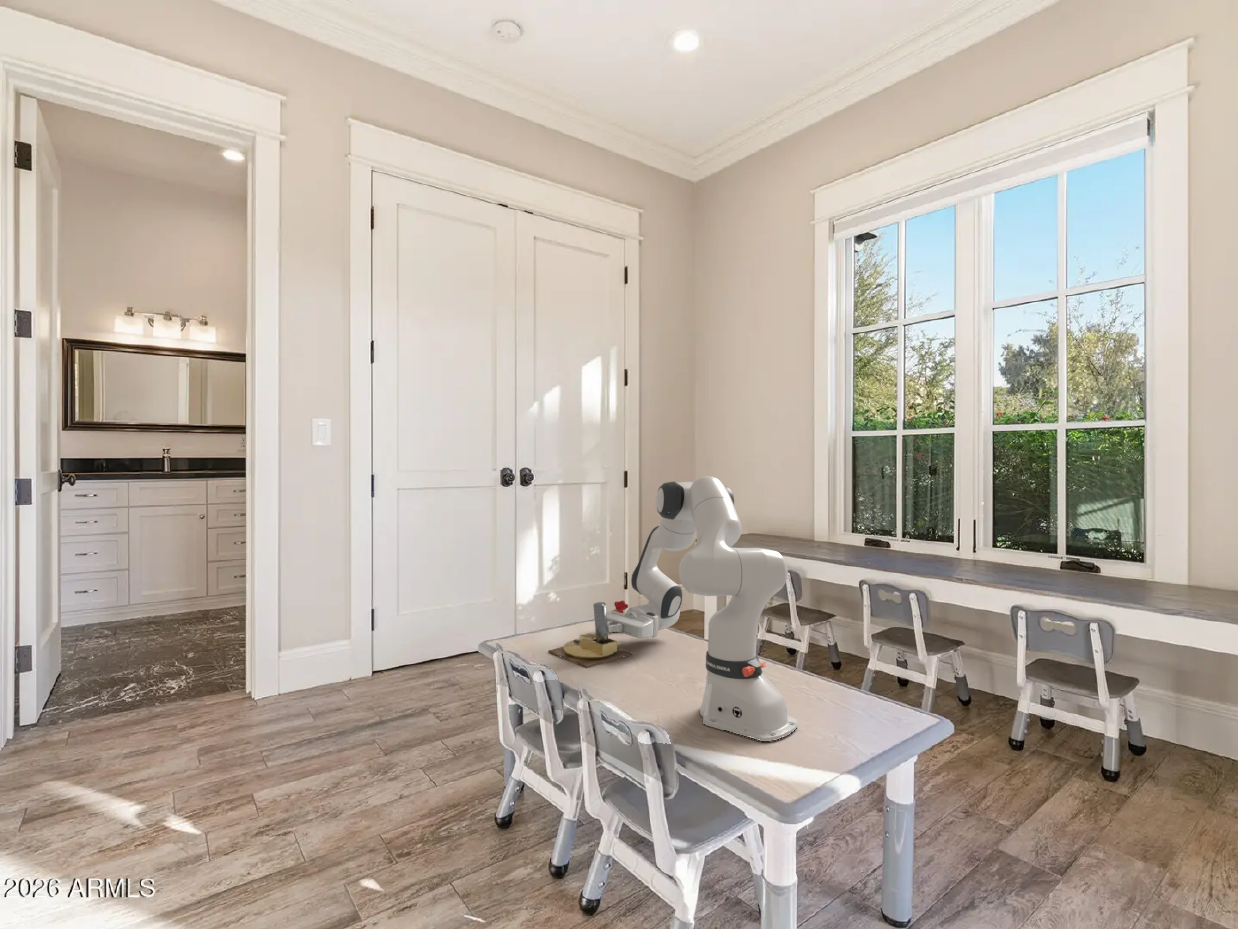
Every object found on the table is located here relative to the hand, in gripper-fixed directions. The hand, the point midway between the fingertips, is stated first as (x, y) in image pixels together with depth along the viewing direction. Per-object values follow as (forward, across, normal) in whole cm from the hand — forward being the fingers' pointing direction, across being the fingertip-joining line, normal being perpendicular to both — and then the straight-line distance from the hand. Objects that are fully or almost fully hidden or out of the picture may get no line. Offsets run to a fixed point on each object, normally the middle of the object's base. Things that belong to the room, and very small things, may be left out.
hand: (605, 628), depth 186 cm
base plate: (+1, -5, +8) cm, 10 cm away
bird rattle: (-22, -16, +9) cm, 28 cm away
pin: (+1, +1, +6) cm, 6 cm away
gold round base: (+1, -5, +8) cm, 10 cm away
